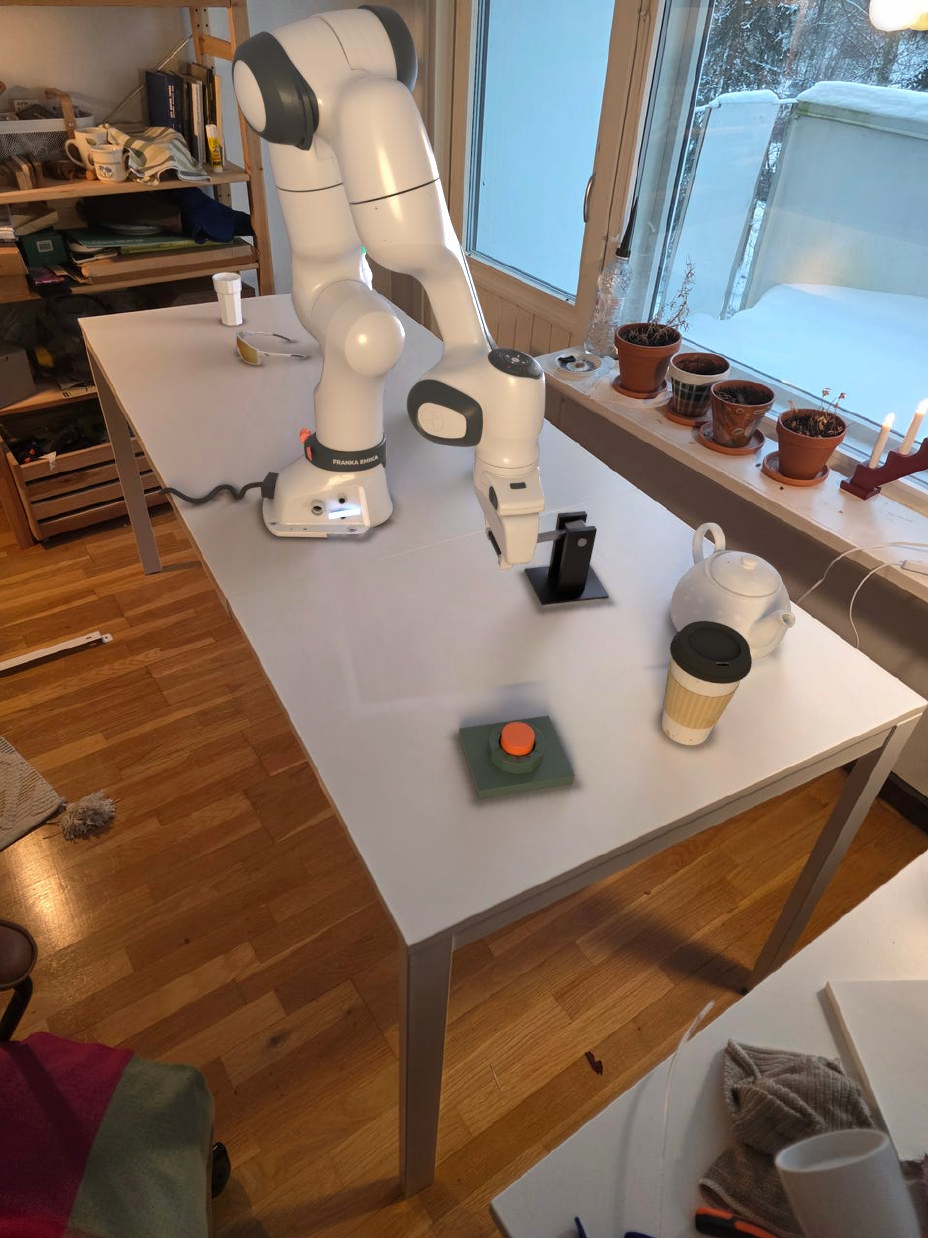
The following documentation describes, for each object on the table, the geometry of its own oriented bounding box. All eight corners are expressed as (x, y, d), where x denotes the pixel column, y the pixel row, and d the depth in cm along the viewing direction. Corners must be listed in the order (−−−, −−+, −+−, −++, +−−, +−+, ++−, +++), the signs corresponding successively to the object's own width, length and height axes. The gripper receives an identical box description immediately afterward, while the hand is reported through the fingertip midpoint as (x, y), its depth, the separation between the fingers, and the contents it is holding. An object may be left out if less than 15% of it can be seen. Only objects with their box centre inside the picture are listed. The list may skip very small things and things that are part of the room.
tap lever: (499, 565, 117) (498, 551, 116) (488, 541, 122) (487, 528, 120) (590, 547, 119) (591, 534, 118) (577, 525, 124) (577, 512, 122)
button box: (478, 800, 95) (480, 781, 93) (458, 737, 103) (460, 718, 101) (572, 784, 98) (577, 766, 96) (547, 724, 105) (550, 705, 103)
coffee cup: (711, 701, 111) (742, 618, 101) (731, 756, 103) (767, 673, 93) (641, 699, 110) (665, 616, 100) (656, 755, 102) (684, 671, 93)
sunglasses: (228, 346, 191) (228, 325, 188) (289, 346, 198) (290, 326, 195) (245, 369, 182) (246, 347, 179) (309, 369, 189) (310, 348, 186)
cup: (238, 315, 207) (233, 270, 200) (250, 323, 203) (245, 278, 196) (214, 319, 203) (207, 274, 196) (225, 328, 200) (219, 282, 192)
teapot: (797, 617, 126) (827, 545, 117) (767, 686, 113) (799, 612, 105) (683, 575, 132) (704, 504, 124) (643, 636, 120) (663, 563, 111)
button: (505, 758, 97) (507, 749, 95) (496, 734, 99) (498, 724, 98) (537, 753, 97) (539, 744, 96) (527, 729, 100) (529, 719, 99)
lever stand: (540, 610, 123) (551, 541, 115) (523, 574, 130) (533, 507, 122) (607, 602, 126) (623, 535, 117) (587, 568, 132) (600, 502, 124)
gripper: (465, 435, 117) (461, 515, 126) (502, 512, 102) (495, 596, 112) (507, 432, 119) (500, 511, 128) (549, 508, 104) (538, 591, 113)
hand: (498, 551), depth 120 cm, fingers closed on tap lever, 6 cm apart
